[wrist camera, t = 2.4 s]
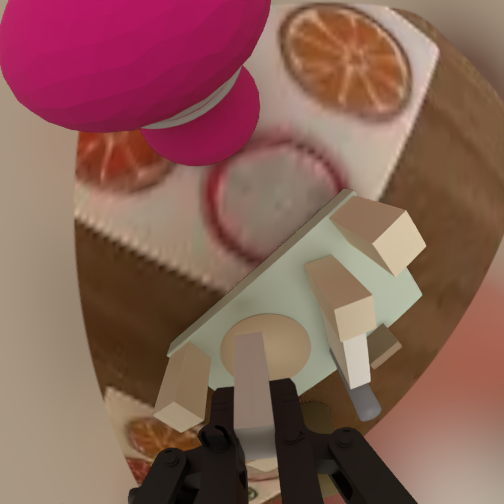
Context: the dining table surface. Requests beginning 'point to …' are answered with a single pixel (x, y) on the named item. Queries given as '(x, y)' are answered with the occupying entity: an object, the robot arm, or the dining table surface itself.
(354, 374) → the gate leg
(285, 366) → the stand
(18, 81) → the pepper mill
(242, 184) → the dining table surface
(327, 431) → the pepper shaker
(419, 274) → the dining table surface
